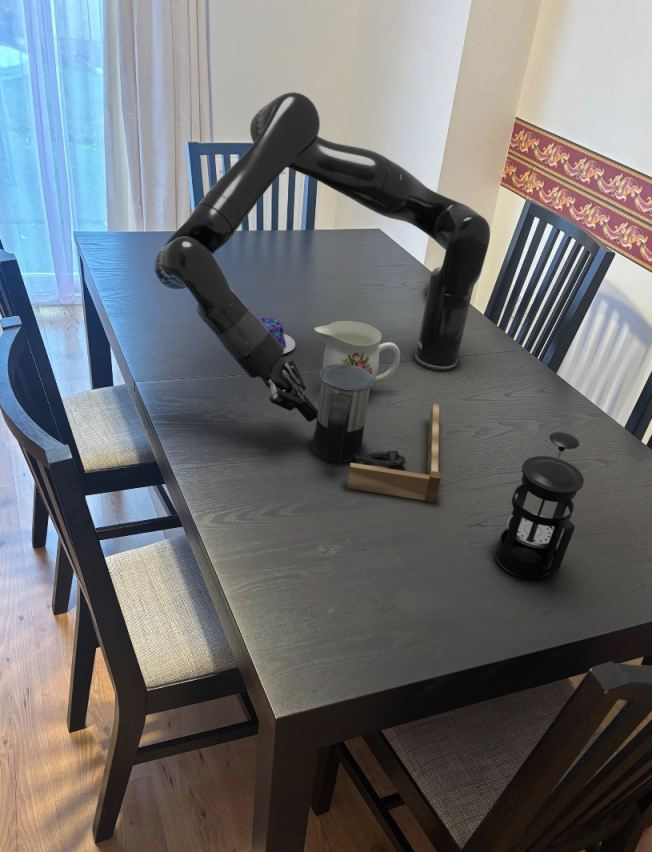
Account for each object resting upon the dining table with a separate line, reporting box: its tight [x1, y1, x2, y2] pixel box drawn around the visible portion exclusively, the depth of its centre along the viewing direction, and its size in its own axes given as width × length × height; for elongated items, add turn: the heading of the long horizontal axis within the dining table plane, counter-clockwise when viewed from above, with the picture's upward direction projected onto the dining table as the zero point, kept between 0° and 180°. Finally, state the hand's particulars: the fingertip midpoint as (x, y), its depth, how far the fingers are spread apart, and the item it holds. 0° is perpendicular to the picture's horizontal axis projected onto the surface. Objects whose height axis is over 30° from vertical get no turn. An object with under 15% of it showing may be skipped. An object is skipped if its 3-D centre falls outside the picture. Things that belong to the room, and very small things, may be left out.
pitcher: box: [313, 320, 401, 389], centre depth 155 cm, size 11×18×14 cm, turn 103°
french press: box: [493, 431, 585, 582], centre depth 116 cm, size 12×9×23 cm
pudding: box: [259, 317, 296, 355], centre depth 169 cm, size 12×12×5 cm
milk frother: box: [311, 364, 406, 467], centre depth 137 cm, size 14×16×15 cm
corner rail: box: [346, 403, 442, 504], centre depth 141 cm, size 26×15×5 cm, turn 174°
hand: (314, 417), depth 139 cm, fingers closed
